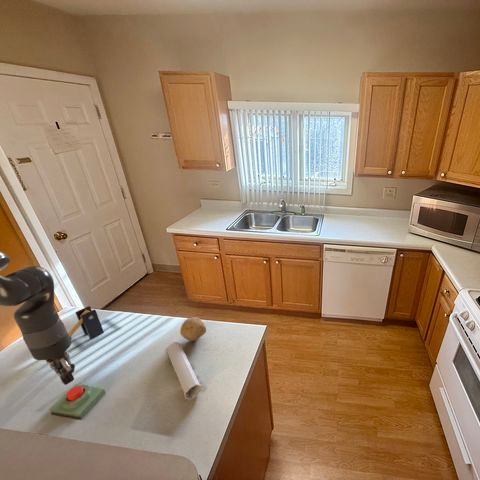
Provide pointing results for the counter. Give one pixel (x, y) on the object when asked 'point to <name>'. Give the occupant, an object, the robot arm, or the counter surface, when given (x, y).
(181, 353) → the tube
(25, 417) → the counter surface
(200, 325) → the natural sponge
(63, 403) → the button block
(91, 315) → the bracket
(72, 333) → the switch lever
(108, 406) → the counter surface
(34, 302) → the robot arm
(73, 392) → the button
